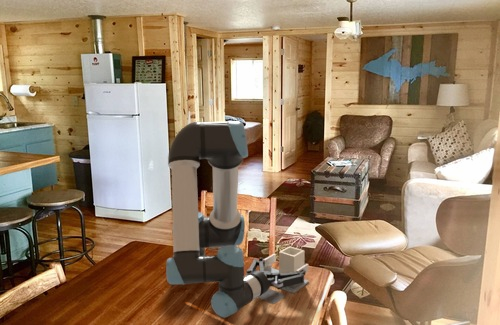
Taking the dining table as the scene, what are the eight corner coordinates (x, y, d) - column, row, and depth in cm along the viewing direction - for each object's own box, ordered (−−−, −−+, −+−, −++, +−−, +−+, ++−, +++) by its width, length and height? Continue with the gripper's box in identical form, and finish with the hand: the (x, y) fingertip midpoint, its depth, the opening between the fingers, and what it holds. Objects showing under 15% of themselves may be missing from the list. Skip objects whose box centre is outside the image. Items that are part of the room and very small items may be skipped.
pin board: (252, 279, 153) (252, 267, 153) (269, 269, 161) (269, 258, 160) (293, 295, 142) (293, 282, 141) (308, 283, 149) (309, 271, 148)
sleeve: (279, 283, 148) (279, 251, 145) (289, 276, 152) (289, 246, 150) (294, 289, 144) (294, 256, 141) (304, 282, 148) (304, 250, 146)
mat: (250, 295, 142) (250, 294, 142) (263, 287, 147) (263, 286, 147) (273, 305, 136) (273, 304, 135) (286, 297, 141) (286, 295, 141)
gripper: (223, 284, 138) (262, 262, 154) (285, 310, 123) (321, 282, 139) (223, 264, 137) (262, 243, 153) (285, 286, 121) (322, 261, 137)
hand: (290, 262), depth 146 cm, fingers open, 13 cm apart
